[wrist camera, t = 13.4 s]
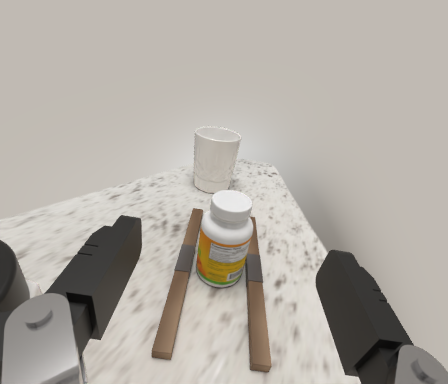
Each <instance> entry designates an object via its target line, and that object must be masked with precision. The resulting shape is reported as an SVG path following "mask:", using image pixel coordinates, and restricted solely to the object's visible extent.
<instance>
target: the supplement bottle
mask: <svg viewBox="0 0 448 384" xmlns="http://www.w3.org/2000/svg"><path fill="white" fill-rule="evenodd" d="M251 209H252V201H251V199H250V198H249V197H248V196H247V195H245V194H243V193H241V192H238V191H234V190H221V191H218V192H216V193H215V194H214V195H213V196H212V200H211V207H210V210H208V211H207V212H206V213H205V214H204V216H203V218H202V222H201V230H200V238H199V246H198V254H197V263H196V269H197V273H198V275H199V277H200V278H201V279H202V280H203V281H204V282H205V283H207V284H209V285H211V286H214V287H228V286H231V285H233V284H235V283H236V282H237V281H238V280H239V279H240V277H241V274H242V271H243V268H244V264H245V260H246V256H247V252H248V249H249V245H250V241H251V237H252V233H253V222H252V220H251V218H250V217H249V216H250V214H251Z"/></svg>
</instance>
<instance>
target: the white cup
mask: <svg viewBox="0 0 448 384" xmlns="http://www.w3.org/2000/svg"><path fill="white" fill-rule="evenodd" d="M240 140H241V136H240V134H238V133H237V132H234V131H232V130H229V129H225V128H220V127H200V128H197V129H196V130H195V147H194V184H195V186H196V187H197V188H198V189H199V190H202V191H204V192H208V193H216V192H218V191H221V190H228V188H229V185H230V180H231V176H232V174H233V170H234V167H235V163H236V158H237V154H238V149H239V145H240Z"/></svg>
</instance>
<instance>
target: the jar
mask: <svg viewBox="0 0 448 384" xmlns="http://www.w3.org/2000/svg"><path fill="white" fill-rule="evenodd" d="M38 295H42V292H41V289H40V286H39V284H38V283H37V282H34V281H31V280H28V279H25V278H24V275H23V273H22V270H21V268H20V265H19V263H18V260H17V258H16V256H15V253H14V252H13V250H12V249H11V248H10V247H9V246H8V245H7V244H6V243H4V242H3V241H1V240H0V312H6V311H11V310H15V309H16V308H17V307H18V306H20V305H21V304H22V303H24V302H25V301H27V300H29V299H31V298H33V297H35V296H38Z"/></svg>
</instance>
